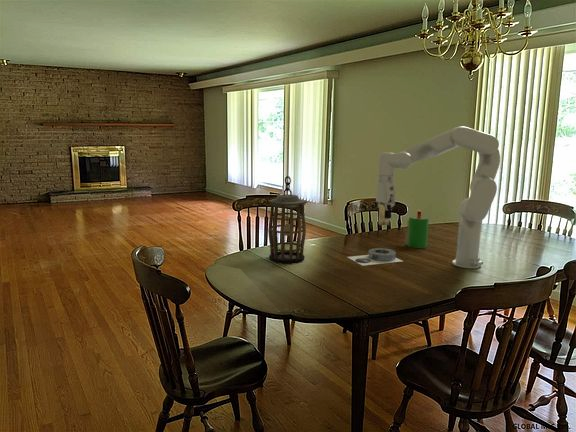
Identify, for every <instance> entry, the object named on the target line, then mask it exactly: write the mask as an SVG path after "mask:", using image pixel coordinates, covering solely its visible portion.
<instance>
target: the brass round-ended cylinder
mask: <svg viewBox="0 0 576 432" xmlns="http://www.w3.org/2000/svg"><path fill="white" fill-rule="evenodd" d="M388 206H389V205H388ZM385 210H386V207H385V204H379V216H378V225H380V226H390V221H391V218H389V219H385Z"/></svg>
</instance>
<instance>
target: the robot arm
mask: <svg viewBox="0 0 576 432" xmlns="http://www.w3.org/2000/svg"><path fill="white" fill-rule="evenodd" d="M459 147H461V148H465V149H467V150H471V151H473V152H477V153H478V157H479V158H478V159H479V160H478V165H477V167H476V170H475V172H474V174H473V177H472V179H471V181H470V184H469V190H470V192H471V193H470V196H469V197H466V198H465V199H463V200H462V201H461V203H460V204H459V208H458V231H457V244H456V253H455V255H456V256H455V259H453V260H452V263H451V264H452V265H453V266H455V267H458V268H463V269H480V268H481V267H482V265H484V262H483V261H481V259H480V257H479V251H480V243H481V241H480V240H481V233H482V221H483V220H484V219H486V217H487V215H488V214H489V211H490V209H491V207H492V204H493V202H494V199H495V197H496V194H497V190H498V186H497V183H496V181H495V179H496V176H497V174H498V170H499V167H500V164H501V163H500V162H501V154H500V150H499V147H500V141H499V140H498V138H497V137H496V136H495V135H493V134H489V133H487V132H486V133H485V132H483V131H480V130H476V129H474V128H470V127H468V126H463V125H462V126H460V125H459V126H456V127H453V128H452V129H449V130H446V131H444V132H442V133H439V134H437V135H435V136H433V137H430V138H428V139H426V140H424V141H422V142H420V143H418V144H415V145H412V146H411V147H409V148H406V149H403V150H401V151H400V152H396V153H394V152H390V151H388V152H387V151H386V152H385V151H383V152H380V153H379V154H378V161H377V163H378V164H377V165H378V167H377V185H376V191H375V202H376V205H377V217H379V204H385V207H386V210H385V219H389V218H390V219H392V210H393V208H394V206H395V205H396V201H397V200H396V197H397V196H396V193H397V192H396V184H395V169H399V170H406V169H409V168H410V167H411V166H412V165H414V164H415V163H417V162H420V161H423V160H426V159H428V158H429V159H431V158H434V157H438V156H440V155H442V154H445V153H447V152H450V151H452V150H455V149H456V148H459ZM388 205H389V206H388ZM479 267H480V268H479Z"/></svg>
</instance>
